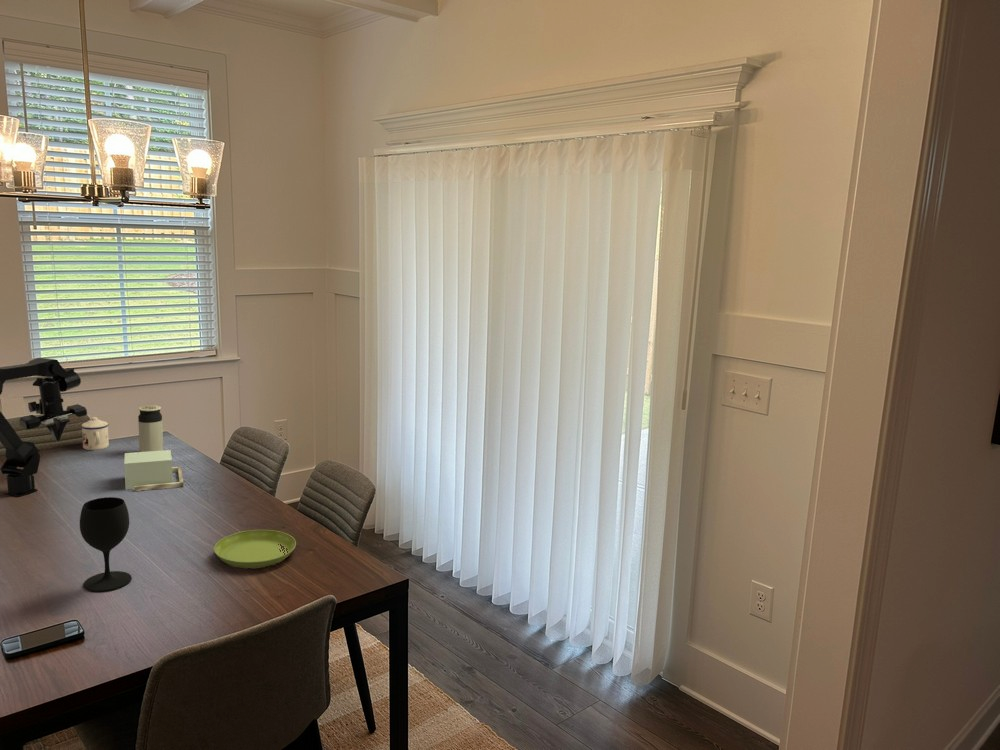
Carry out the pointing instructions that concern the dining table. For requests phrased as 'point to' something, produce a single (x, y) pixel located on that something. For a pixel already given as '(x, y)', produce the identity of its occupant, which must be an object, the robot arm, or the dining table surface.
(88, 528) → the wine glass
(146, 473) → the sage box
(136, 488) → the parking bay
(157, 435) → the travel mug
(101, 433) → the teacup with lid
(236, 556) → the saucer
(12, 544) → the dining table surface
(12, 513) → the dining table surface
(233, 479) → the dining table surface
